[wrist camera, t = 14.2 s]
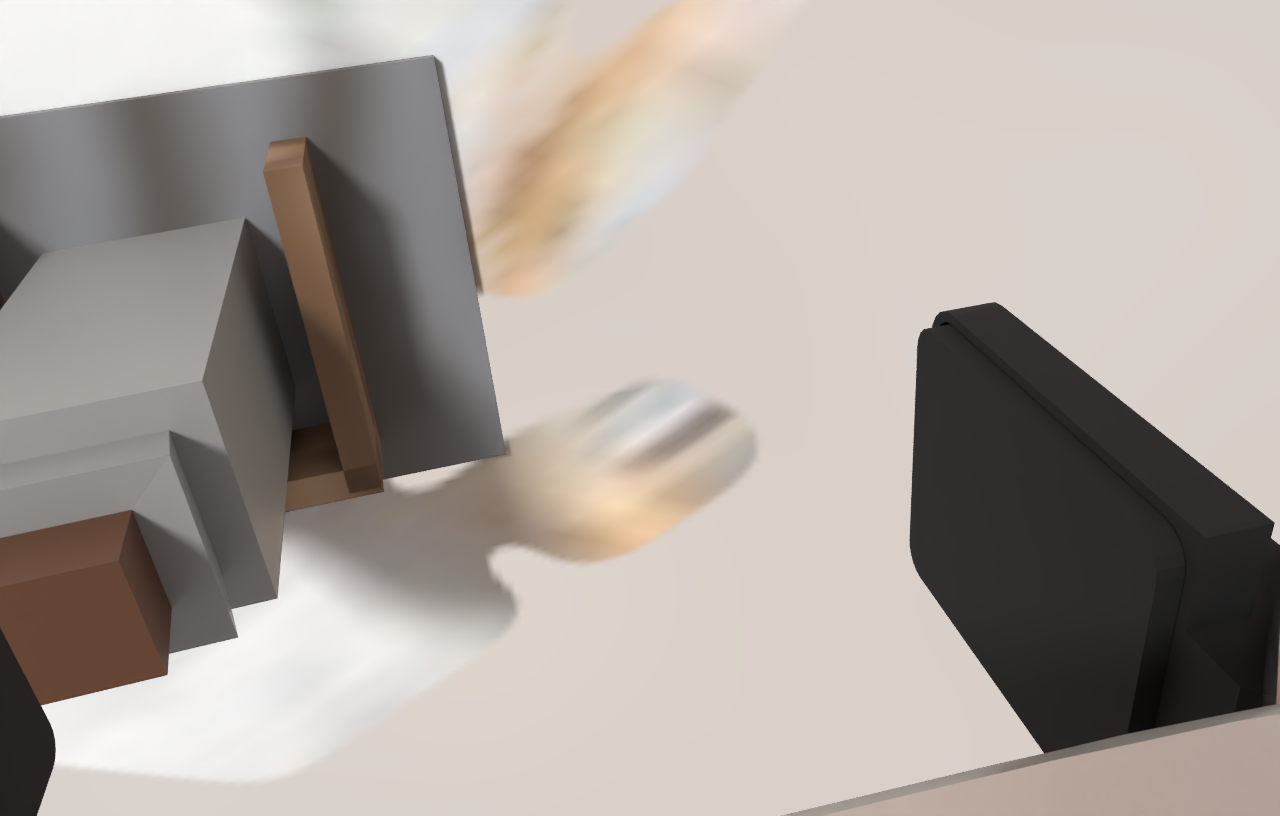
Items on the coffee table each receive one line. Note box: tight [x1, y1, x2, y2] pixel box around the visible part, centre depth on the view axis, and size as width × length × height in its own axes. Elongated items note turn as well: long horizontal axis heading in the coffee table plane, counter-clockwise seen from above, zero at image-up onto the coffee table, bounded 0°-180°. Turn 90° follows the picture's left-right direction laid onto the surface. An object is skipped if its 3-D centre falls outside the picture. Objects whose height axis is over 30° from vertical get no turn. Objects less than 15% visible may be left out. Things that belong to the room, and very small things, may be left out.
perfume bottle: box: [0, 218, 296, 705], centre depth 31 cm, size 7×7×18 cm
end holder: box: [0, 55, 506, 512], centre depth 37 cm, size 22×16×4 cm
